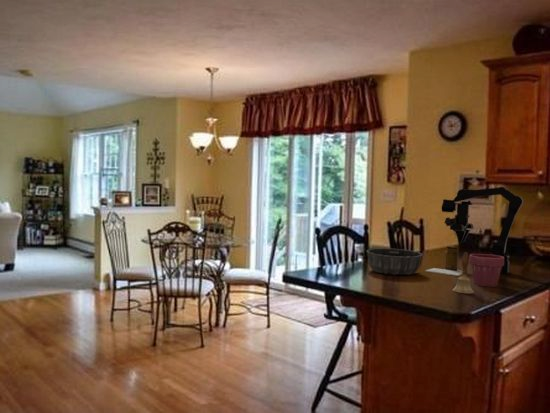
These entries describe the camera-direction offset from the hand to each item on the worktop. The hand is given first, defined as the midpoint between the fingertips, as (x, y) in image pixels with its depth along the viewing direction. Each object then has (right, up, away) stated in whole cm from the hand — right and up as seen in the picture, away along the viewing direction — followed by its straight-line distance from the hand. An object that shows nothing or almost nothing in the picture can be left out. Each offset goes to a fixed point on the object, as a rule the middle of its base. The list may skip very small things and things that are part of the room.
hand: (461, 243), depth 274 cm
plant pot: (-5, -15, -44) cm, 47 cm away
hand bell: (-21, -16, -61) cm, 66 cm away
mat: (-13, -13, -16) cm, 25 cm away
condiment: (-7, -13, -8) cm, 17 cm away
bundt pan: (-40, -13, -21) cm, 47 cm away
